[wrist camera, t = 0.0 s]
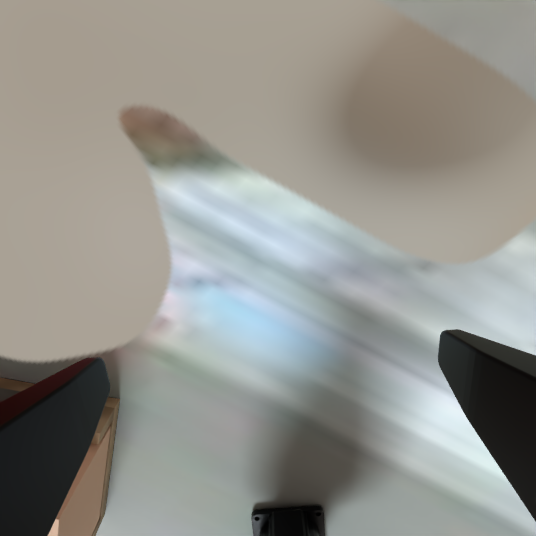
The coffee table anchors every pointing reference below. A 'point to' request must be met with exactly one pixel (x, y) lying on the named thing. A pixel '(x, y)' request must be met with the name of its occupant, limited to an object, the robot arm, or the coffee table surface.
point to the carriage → (84, 494)
